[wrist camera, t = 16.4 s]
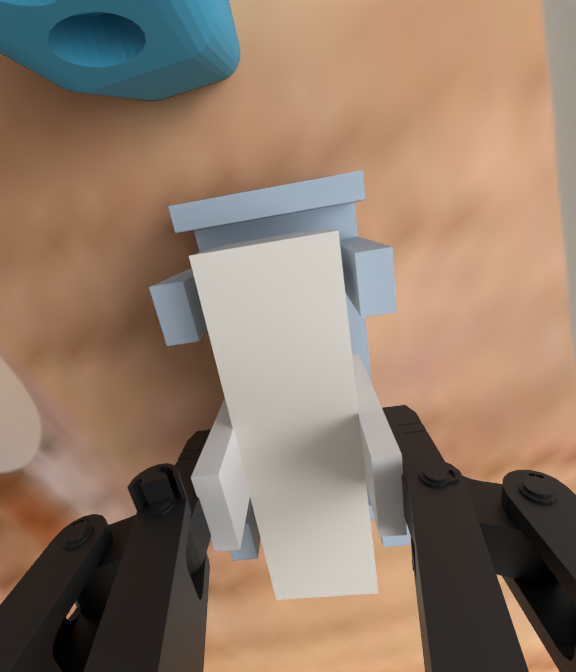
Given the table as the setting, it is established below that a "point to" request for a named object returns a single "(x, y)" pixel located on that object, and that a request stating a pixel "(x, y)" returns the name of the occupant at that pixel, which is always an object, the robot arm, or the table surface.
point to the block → (122, 44)
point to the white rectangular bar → (293, 405)
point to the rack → (271, 220)
